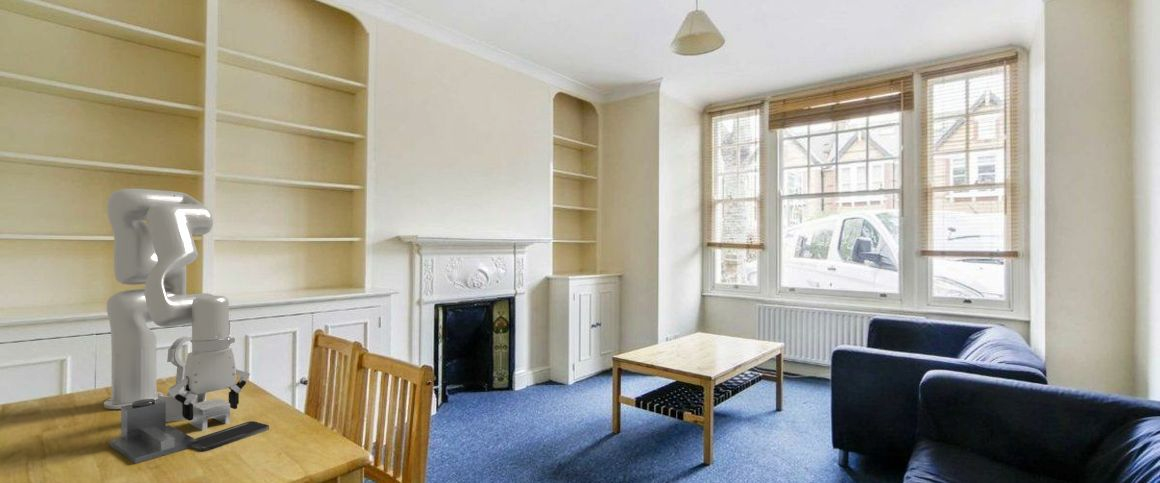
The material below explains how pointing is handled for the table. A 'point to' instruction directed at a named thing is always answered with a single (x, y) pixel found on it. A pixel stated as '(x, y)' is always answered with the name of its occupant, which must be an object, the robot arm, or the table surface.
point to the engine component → (172, 404)
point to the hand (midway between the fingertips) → (211, 413)
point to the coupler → (148, 432)
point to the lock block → (210, 412)
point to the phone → (229, 435)
